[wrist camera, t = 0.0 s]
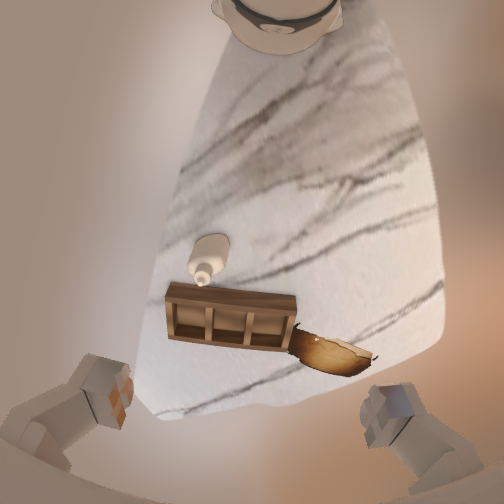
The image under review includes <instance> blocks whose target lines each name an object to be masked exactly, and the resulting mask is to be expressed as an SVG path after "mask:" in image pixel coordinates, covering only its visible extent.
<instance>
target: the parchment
mask: <svg viewBox="0 0 504 504" xmlns="http://www.w3.org/2000/svg"><path fill="white" fill-rule="evenodd" d="M300 324H301V323H300ZM298 325H299V324H298ZM298 325H296V326H294V327H293V330H292V334H291V338H290V341H289V345H288V349H287V351H289V353H288V352H287V353H288V354H290V355H294V356H295V357H297V358H299V359H300V360H299V361H300V362H301V363H303V364H305V365H306V366H308V367H311V368H313V369H316V370H319V371H322V372H326V373H329V374H333V375H339V376H344V377H352V376H355V375H358V374H359V373H361V372H362V371H364V370H365V369H367V368H368V367H370V366H371V364H370V363H371V358H372V353H371V352H368V351H365V350H363V349H360V348H357V347H355V346H352V345H350V344H348V343H346V342H343V341H341V340H339V339H325V338H323V337H318V336H317V335H315V334H310V333H309V332H306V331H304V330H300V329H297V328H296V327H297V326H298ZM315 338H319V340H317V341H315ZM376 358H378V356H377V357H376ZM376 358H374V359H372V360H373V361H374V360H375V359H376Z"/></svg>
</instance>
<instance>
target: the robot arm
mask: <svg viewBox="0 0 504 504" xmlns="http://www.w3.org/2000/svg"><path fill="white" fill-rule="evenodd" d="M211 9H212V12H213V13H214V14H215V15H216V16H218V17H219V18H221V19H223V20H224V21H226V23H227V24H228V25H229V27H230V28H231V30H232V32H233V33H234V34H235V36H236V37H237V38H238V39H239V40H240V41H241V42H243V43H244V44H245V45H247V46H249V47H250V48H252V49H254V50H257V51H259V52H263V53H267V54H273V55H287V54H293V53H297V52H300V51H303V50H305V49H307V48H309V47H310V46H312V45H313V44H314V43H316V42H317V41H318V40H319V39H320V38H321V37H322V36H323V35H324V34H326V33H330V32H333V31H335V30H338V29H339V28H341V26H342V25H343V16H342V8H341V2H340V0H213V2H212V5H211ZM130 372H131V371H130V367H129V365H128V364H126V363H122V362H119V361H115V360H111V359H107V358H104V357H99V356H96V355H92V354H89V353H88V354H86V355H85V356H84V357H83V359H82V360H81V362H80V363H79V365H78V367H77V369H76V370H75V371H74V373H73V375H72V376H71V378H70V380H69V381H68V383H67V384H66V385H65V384H61V385H59V386H57V387H55V388H53V389H51V390H49V391H47V392H45V393H43V394H41V395H39V396H37V397H35V398H33V399H31V400H29V401H27V402H24V403H22V404H21V405H18V406H16V407H14V408H12V409H11V411H10V413H9V414H8V416H7V417H6V419H5V420H4V422H3V424H2V425H1V427H0V504H170V503H165V502H160V501H155V500H151V499H147V498H143V497H139V496H135V495H132V494H128V493H124V492H121V491H118V490H115V489H111V488H108V487H105V486H102V485H99V484H96V483H94V482H91V481H88V480H85V479H83V478H80V477H78V476H75V475H73V474H70V473H69V471H70V469H71V466H72V465H71V463H70V461H69V460H68V458H67V457H66V456H65V455H64V453H63V451H64V450H66V449H67V448H68V447H70V446H71V445H72V444H74V443H75V442H77V441H78V440H79V439H81V438H82V437H83V436H85V435H86V434H87V433H89V432H90V431H91V430H93V429H94V428H95V427H97V426H98V424H100V425H103V426H107V427H110V428H114V429H118V430H121V427H122V425H123V422H124V420H125V417H126V414H125V410H124V409H125V408H127V407H129V406H130V404H131V401H132V397H133V392H134V387H133V381H132V380H131V379H130V378H129V374H130ZM369 395H370V396H369V397H368V398H366V399H365V400H364V402H363V403H362V405H361V409H360V420H361V424H362V425H363V426H364V427H365V428H366V429H367V430H366V432H365V438H366V442H367V445H368V448H379V447H388V446H390V447H389V448H390V449H391V450H392V451H393V452H394V453H395V454H396V455H397V456H398V457H399V458H400V459H401V460H402V461H403V462H404V464H406V466H407V467H408V468H409V469H410V470H411V471H412V472H413V473H414V474H415V475H416V476H417V477H418V479H417V480H416V481H415V482H414V483H413V484H411V485H410V487H409V492H410V496H407V497H403V498H399V499H395V500H391V501H386V502H382V503H377V504H504V460H502V461H500V462H498V463H496V464H494V465H492V466H490V467H487V468H484V466H483V463H482V461H481V459H480V457H479V455H478V452H477V450H476V448H475V446H474V444H473V443H472V442H470V441H469V440H467V439H466V438H465V437H463V436H462V435H460V434H459V433H458V432H456V431H455V430H453V429H452V428H450V427H449V426H448V425H446V424H445V423H443V422H442V421H440V420H439V419H438V418H436V417H435V416H434V415H432V414H427V411H426V409H425V407H424V405H423V403H422V401H421V399H420V397H419V395H418V393H417V391H416V389H415V387H414V385H413V384H412V383H411V382H406V383H393V384H379V385H373V386H372V387H371V388H370V390H369Z"/></svg>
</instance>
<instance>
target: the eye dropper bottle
mask: <svg viewBox="0 0 504 504" xmlns="http://www.w3.org/2000/svg"><path fill="white" fill-rule="evenodd" d="M229 247H230V244H229V241H228V238H227V236H225V235H222V234H212V235H208V236H205V237H203V238H201V239H199V240H198V241H197V242H196V244H195V246H194V248H193V251H192V253H191V255H190V258H189V260H188V263H187V267H188V270H189V272H190V274H191V275H193V276H194V277H193V278H194V281H195V282H196V283H197V284H198V286H204V285H207V284H209V283H210V281H211V277H212V276H213V275H215V274H217V273H219V272H220V271H222V270H223V269H224V268H225V266H226V261H227V257H228V252H229Z"/></svg>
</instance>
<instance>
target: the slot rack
mask: <svg viewBox="0 0 504 504" xmlns="http://www.w3.org/2000/svg"><path fill="white" fill-rule="evenodd" d="M165 306H166V318H167V330H168V339H172V340H178V341H185V342H192V343H199V344H206V345H214V346H223V347H231V348H241V349H251V350H262V351H274V352H287V349H288V345H289V341H290V338H291V334H292V330H293V326H294V323H295V319H296V315H297V305H296V298H295V296H292V295H281V294H271V293H261V292H251V291H242V290H233V289H224V288H215V287H207V286H198V285H191V284H183V283H175V282H171V283H170V286H169V288H168V290H167V293H166V295H165Z"/></svg>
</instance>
